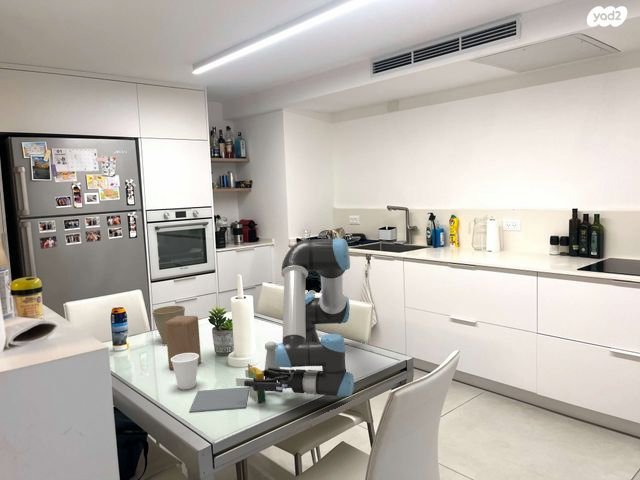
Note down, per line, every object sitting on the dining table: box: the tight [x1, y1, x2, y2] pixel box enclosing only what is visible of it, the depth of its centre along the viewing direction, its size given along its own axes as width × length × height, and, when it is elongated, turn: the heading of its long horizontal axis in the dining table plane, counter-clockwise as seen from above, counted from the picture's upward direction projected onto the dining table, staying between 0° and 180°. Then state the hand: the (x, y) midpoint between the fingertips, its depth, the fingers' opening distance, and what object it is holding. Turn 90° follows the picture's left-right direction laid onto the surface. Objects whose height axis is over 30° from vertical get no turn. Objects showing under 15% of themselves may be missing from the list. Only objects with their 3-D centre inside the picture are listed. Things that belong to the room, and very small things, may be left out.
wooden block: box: [166, 315, 202, 370], centre depth 196 cm, size 10×10×20 cm
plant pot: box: [151, 305, 186, 345], centre depth 231 cm, size 15×15×16 cm
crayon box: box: [247, 363, 266, 404], centre depth 161 cm, size 7×3×12 cm, turn 30°
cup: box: [171, 353, 199, 390], centre depth 175 cm, size 10×10×11 cm
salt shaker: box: [264, 341, 281, 370], centre depth 181 cm, size 6×6×13 cm
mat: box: [188, 386, 249, 413], centre depth 162 cm, size 18×16×1 cm
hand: (241, 377), depth 163 cm, fingers closed on crayon box, 7 cm apart
